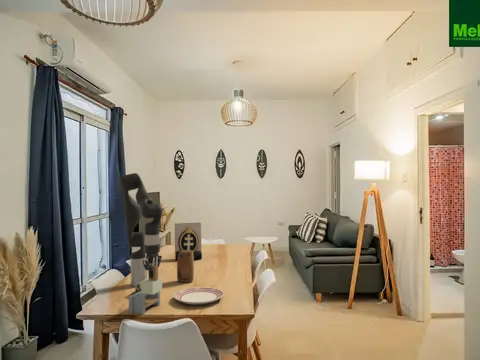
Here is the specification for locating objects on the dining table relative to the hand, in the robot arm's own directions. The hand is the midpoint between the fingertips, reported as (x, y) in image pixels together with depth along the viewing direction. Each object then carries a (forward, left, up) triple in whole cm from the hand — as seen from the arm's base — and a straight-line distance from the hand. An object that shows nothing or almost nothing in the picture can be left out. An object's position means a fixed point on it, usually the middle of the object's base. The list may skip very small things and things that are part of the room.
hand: (152, 277), depth 177 cm
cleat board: (0, -5, -16) cm, 17 cm away
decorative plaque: (-105, -42, -17) cm, 114 cm away
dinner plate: (-22, +14, -17) cm, 31 cm away
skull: (-18, -21, -17) cm, 32 cm away
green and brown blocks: (0, 0, -7) cm, 7 cm away
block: (-49, -11, -17) cm, 53 cm away
